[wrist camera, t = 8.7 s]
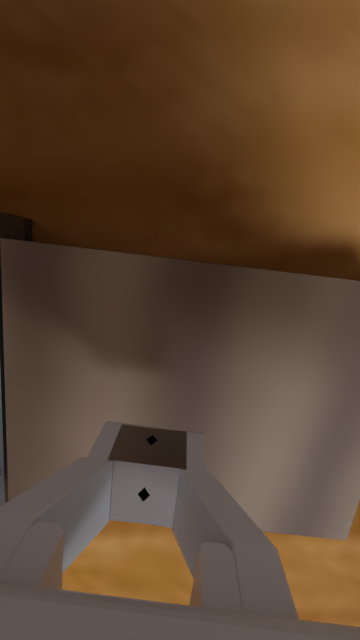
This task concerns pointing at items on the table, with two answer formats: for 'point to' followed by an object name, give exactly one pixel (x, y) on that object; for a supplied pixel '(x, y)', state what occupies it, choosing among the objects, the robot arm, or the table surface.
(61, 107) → the table surface
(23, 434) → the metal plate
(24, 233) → the box
